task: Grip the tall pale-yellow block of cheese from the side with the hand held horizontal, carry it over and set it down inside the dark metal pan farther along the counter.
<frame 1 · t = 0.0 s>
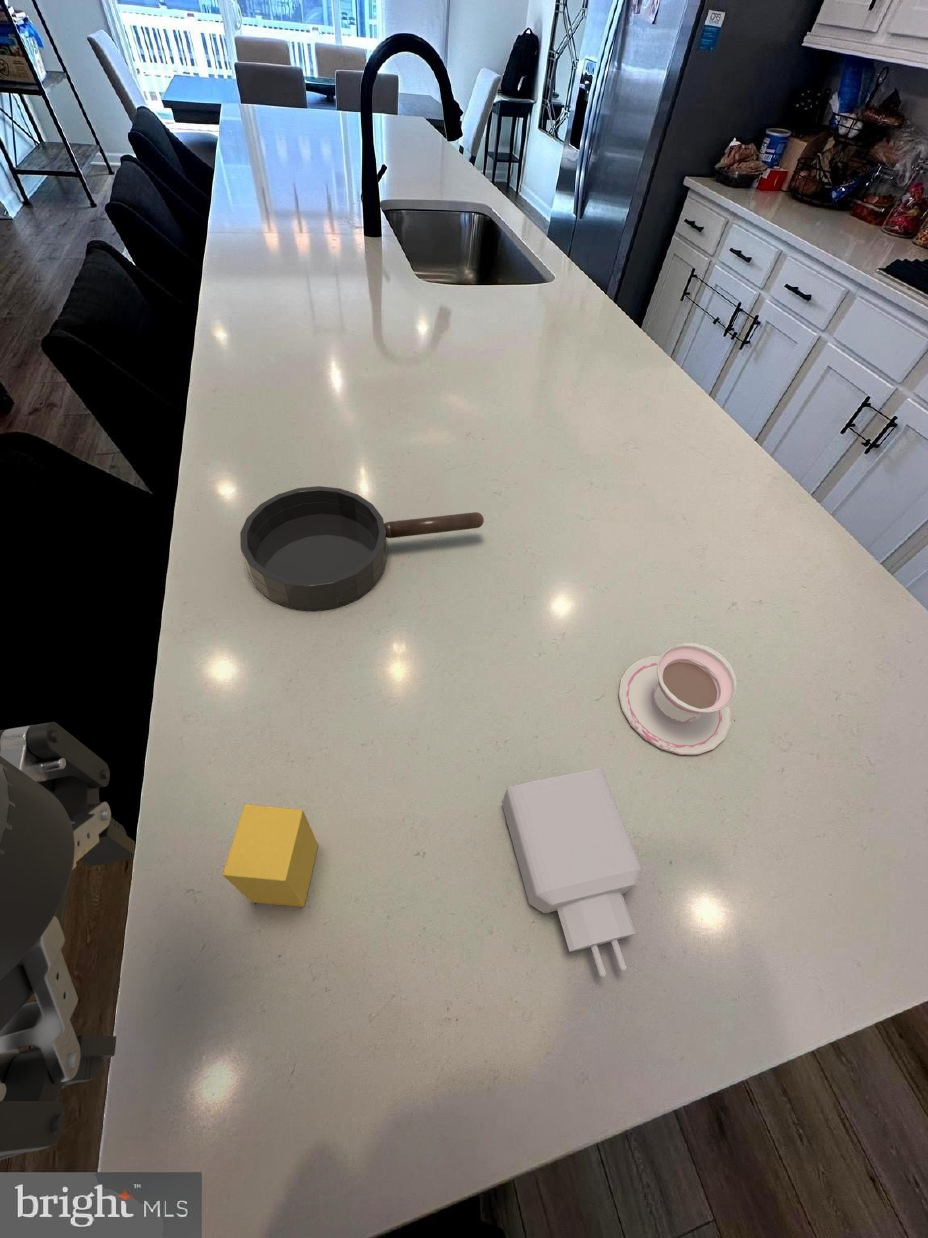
hand: (104, 946, 27), 19 cm above the worktop, tool pointing down, fingers open, 8 cm apart
pan: (319, 558, 69), on the worktop
teacup: (671, 705, 61), on the worktop
cheese: (285, 872, 47), on the worktop
charger: (572, 878, 49), on the worktop
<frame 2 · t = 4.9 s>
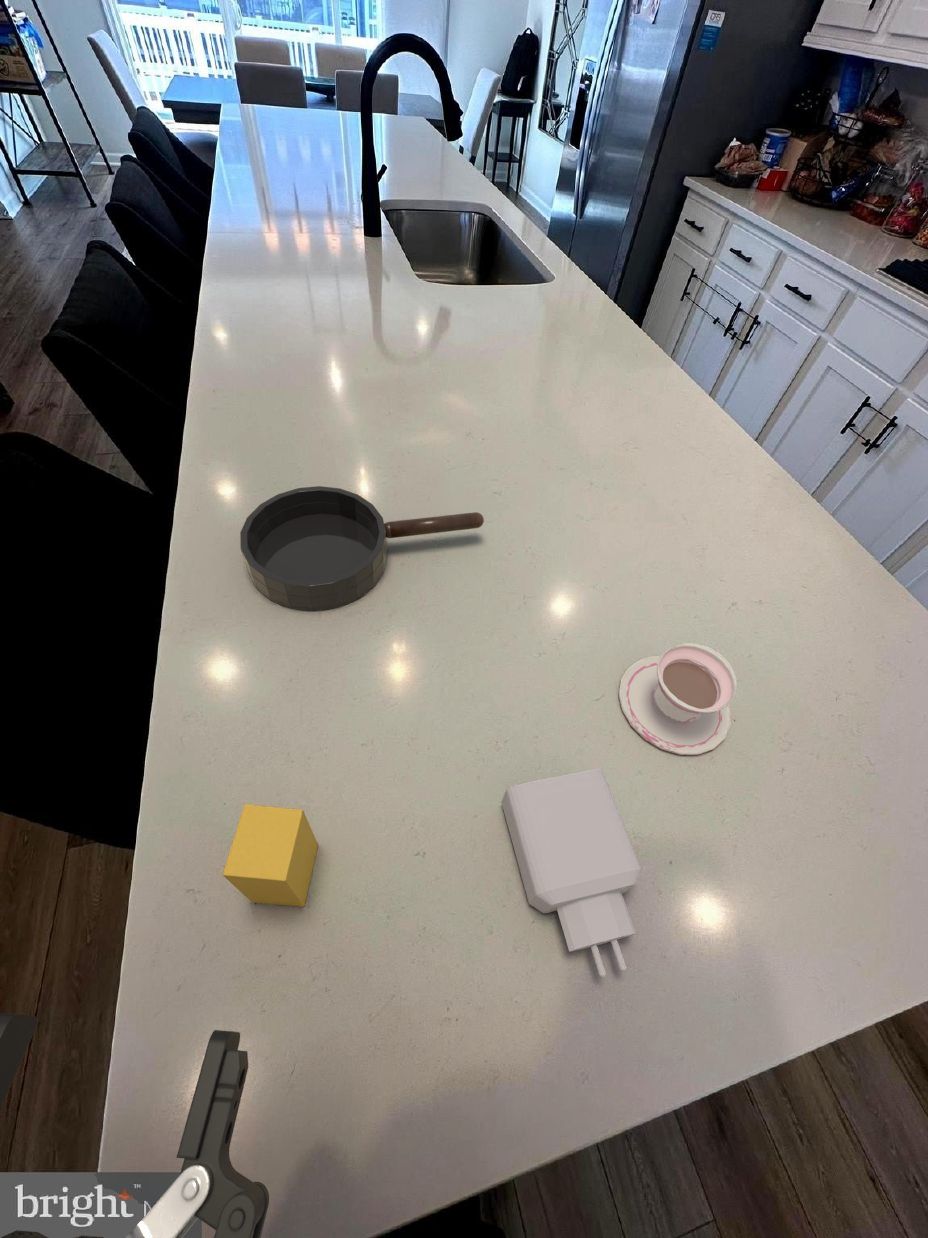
hand: (124, 1023, 23), 22 cm above the worktop, tool horizontal, fingers open, 8 cm apart
nothing on the worktop moved.
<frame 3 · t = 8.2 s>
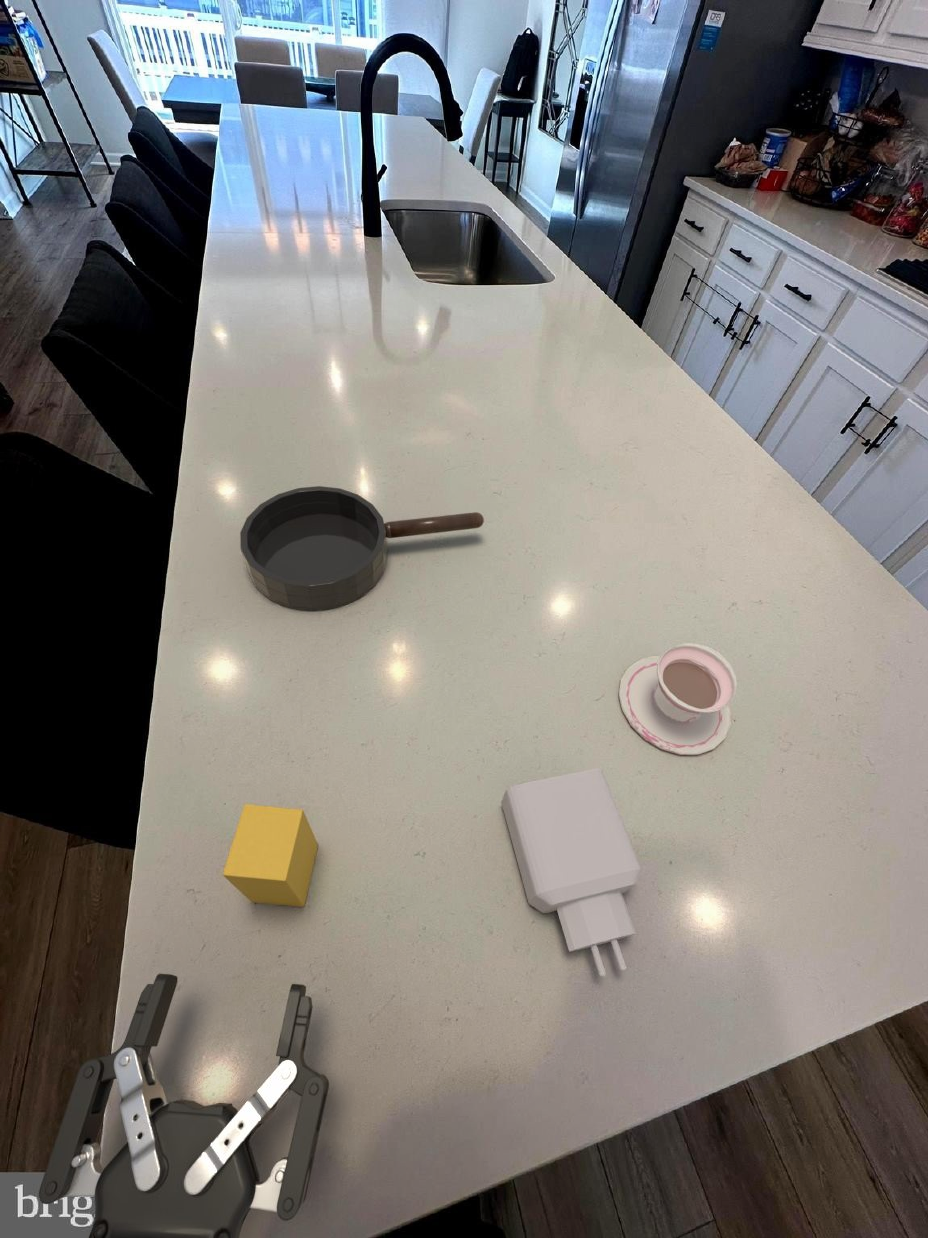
hand: (234, 980, 37), 7 cm above the worktop, tool horizontal, fingers open, 8 cm apart
nothing on the worktop moved.
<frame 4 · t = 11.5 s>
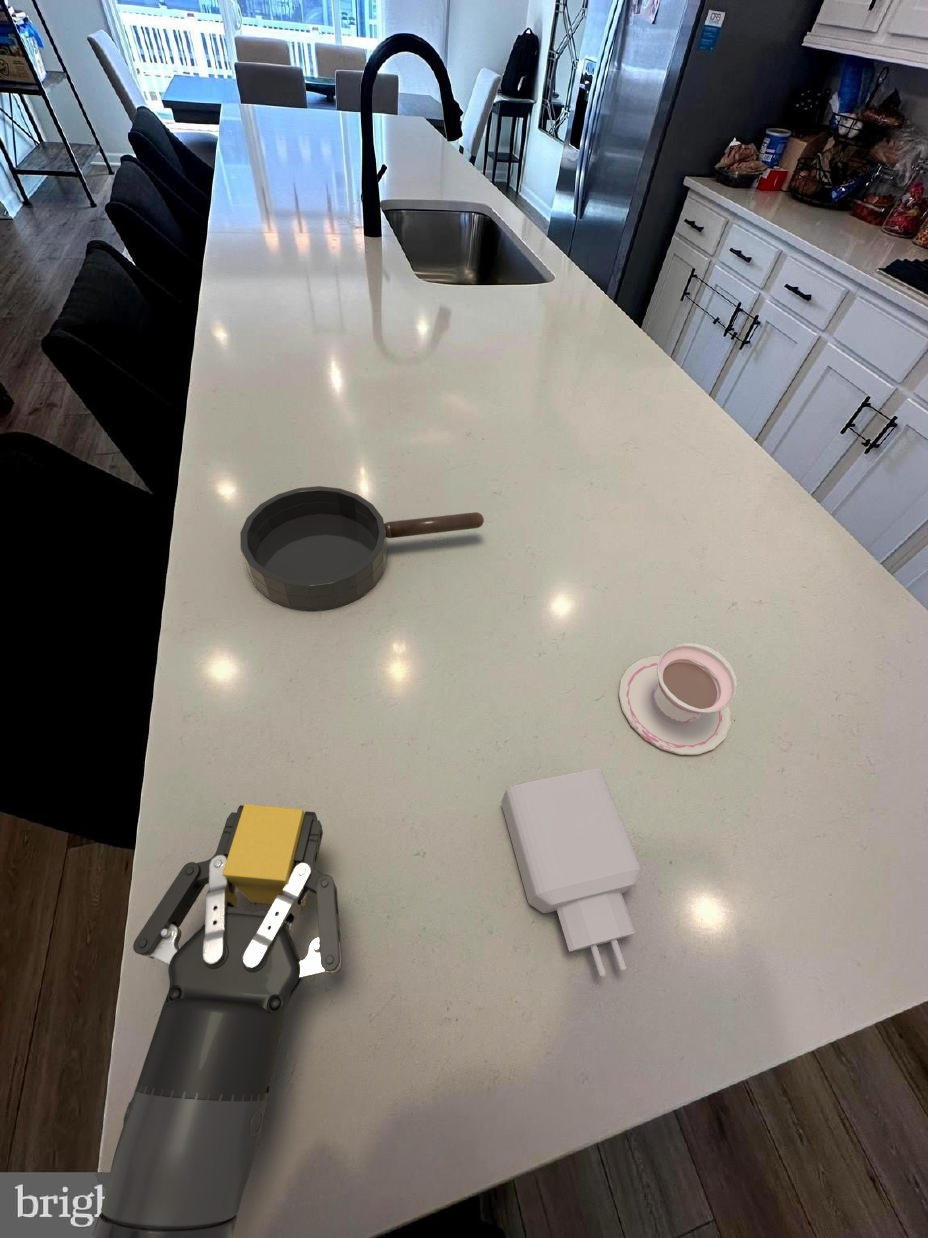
hand: (279, 812, 43), 7 cm above the worktop, tool horizontal, fingers closed on cheese, 4 cm apart
cheese: (285, 872, 47), on the worktop, touching gripper
everything else where it was.
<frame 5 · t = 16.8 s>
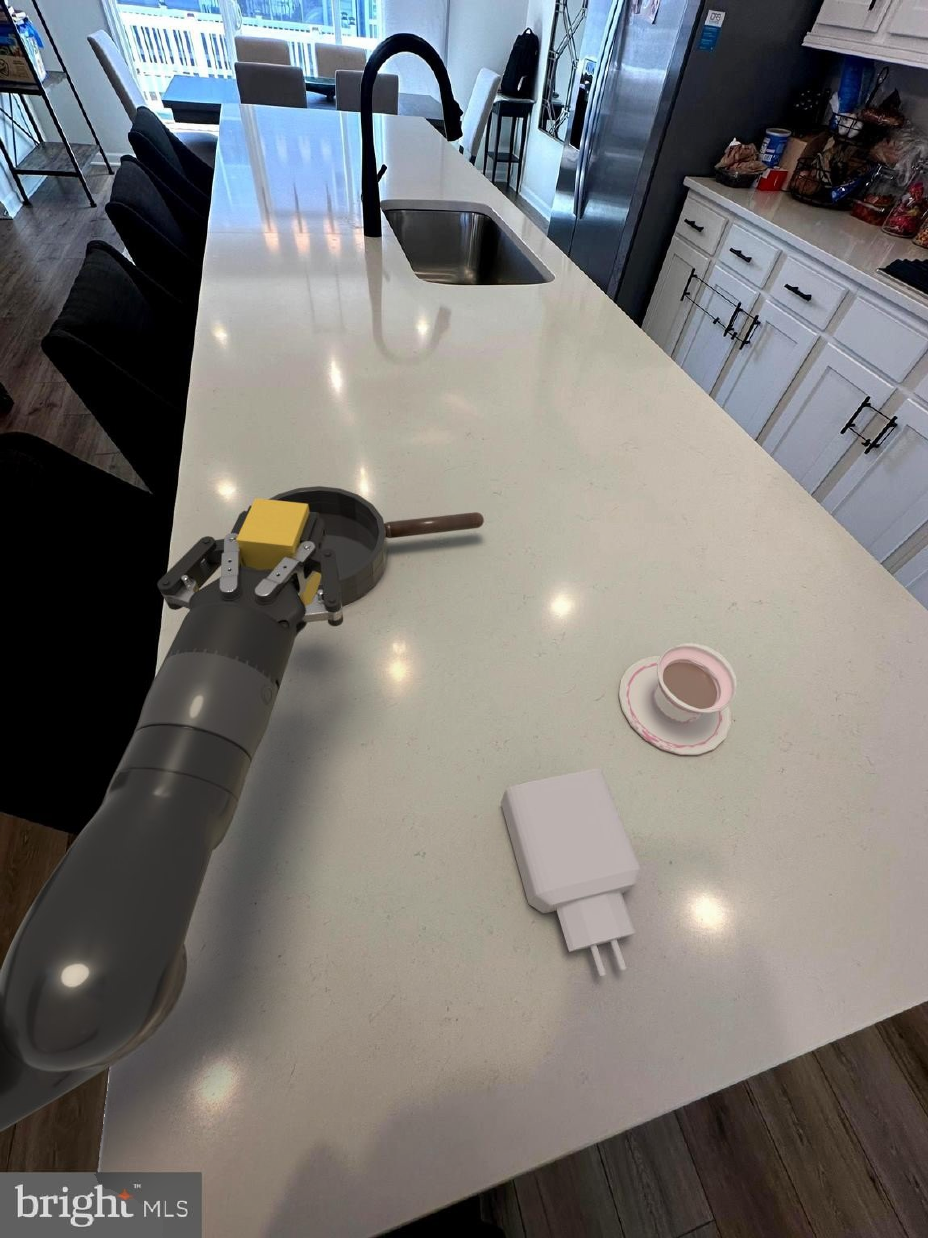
hand: (286, 517, 48), 18 cm above the worktop, tool horizontal, fingers closed on cheese, 4 cm apart
cheese: (291, 593, 52), point 11 cm above the worktop, touching gripper
everything else where it was.
when the fingers open (8 cm above the worktop, at t = 22.2 s): cheese stays where it is, resting on pan.
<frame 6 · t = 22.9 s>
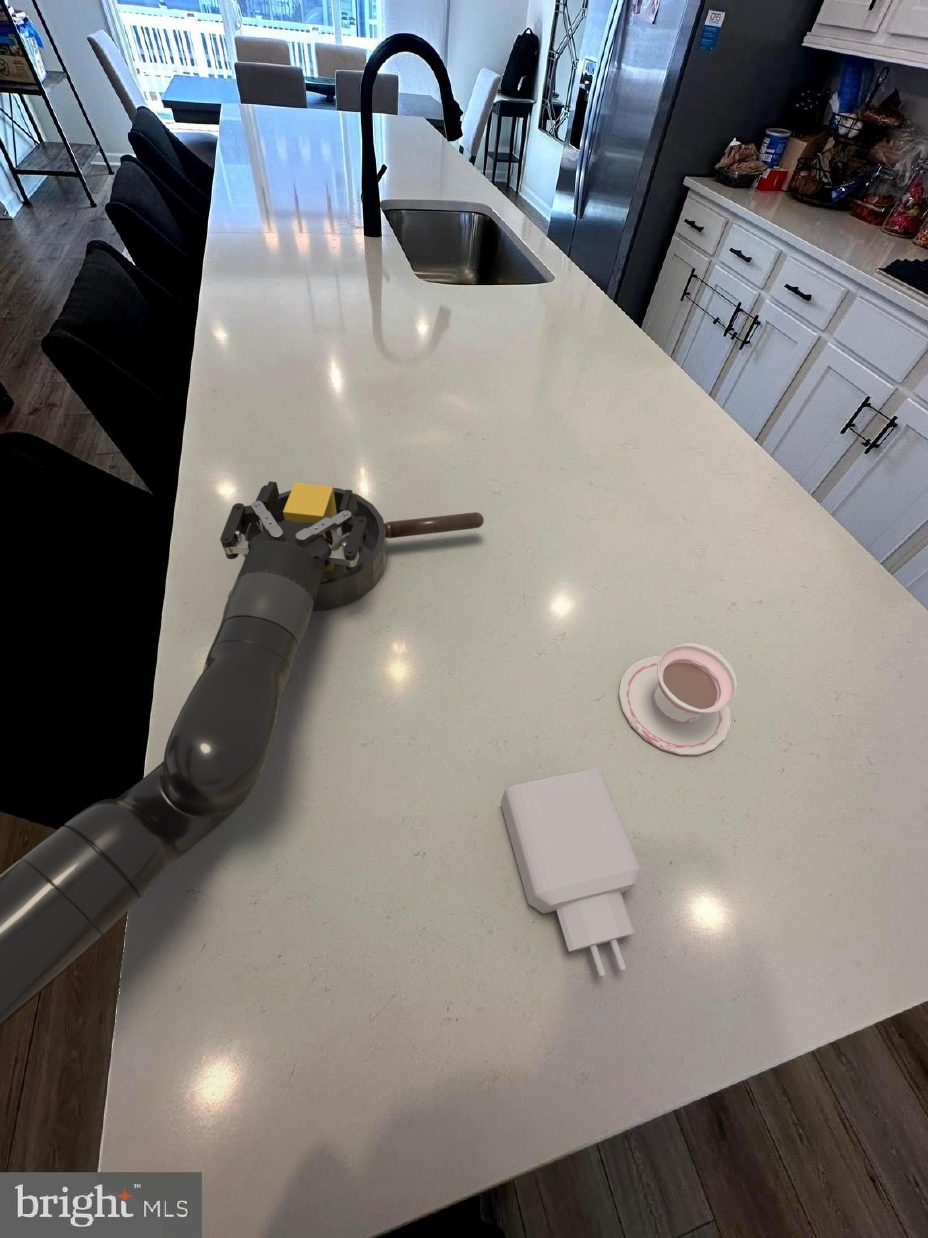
hand: (312, 491, 63), 9 cm above the worktop, tool horizontal, fingers open, 8 cm apart
cheese: (318, 555, 69), point 1 cm above the worktop, touching pan
everything else where it was.
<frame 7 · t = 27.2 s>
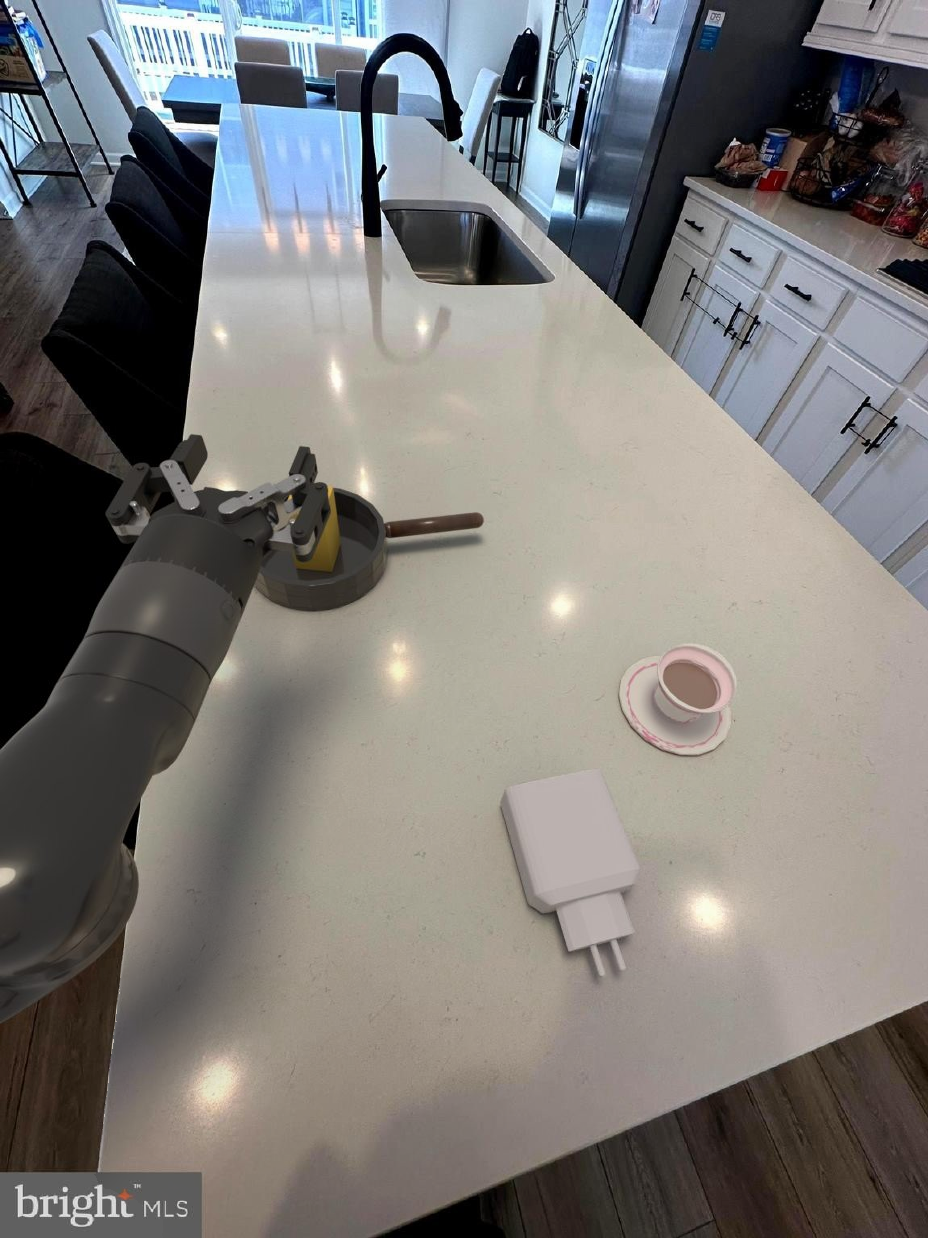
hand: (254, 449, 45), 23 cm above the worktop, tool horizontal, fingers open, 8 cm apart
nothing on the worktop moved.
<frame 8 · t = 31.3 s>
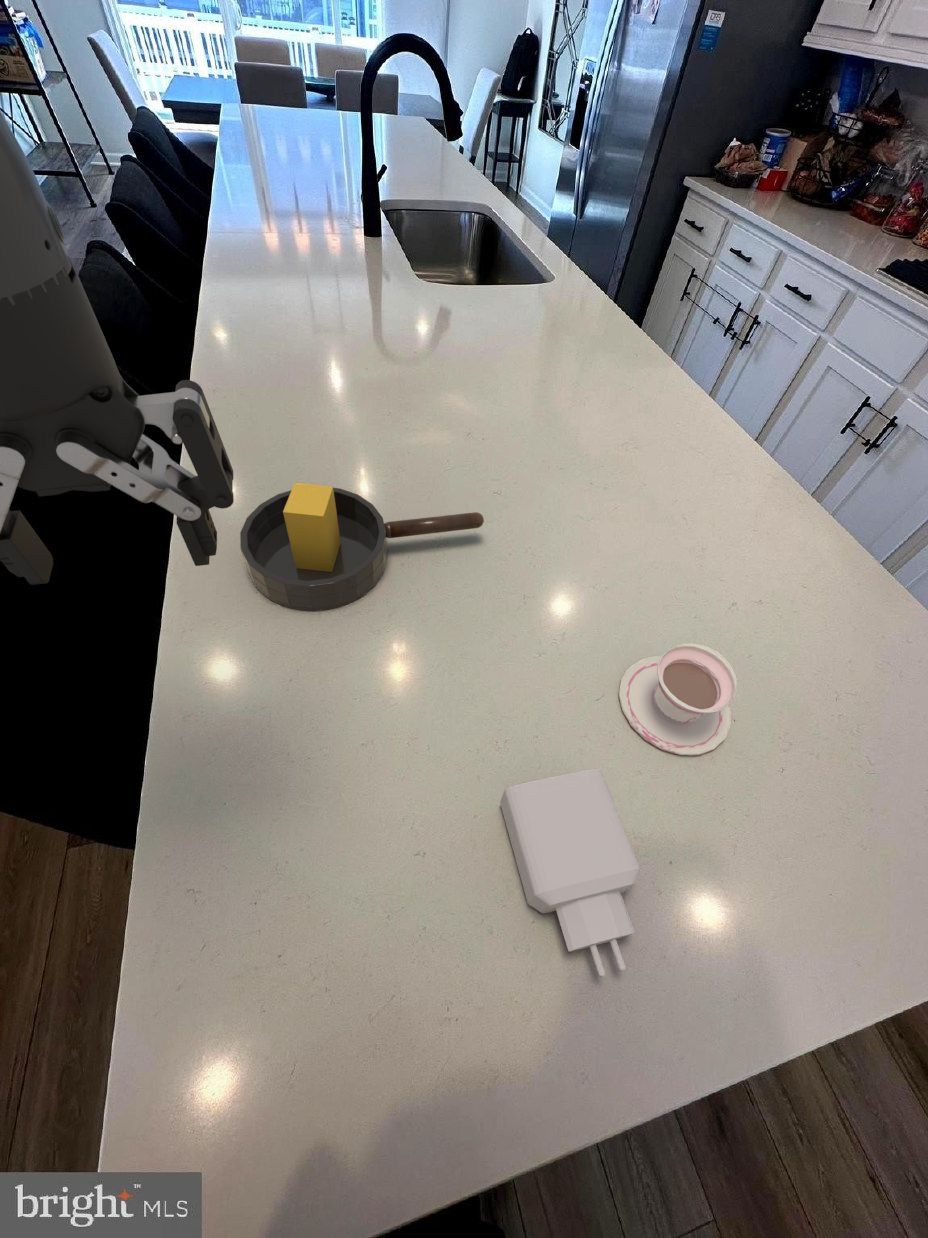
hand: (126, 564, 33), 26 cm above the worktop, tool pointing down, fingers open, 8 cm apart
nothing on the worktop moved.
at the end: cheese inside the target area in the pan (0.1 cm from its centre), point 0.6 cm above the pan's base; the gripper is holding nothing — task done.
